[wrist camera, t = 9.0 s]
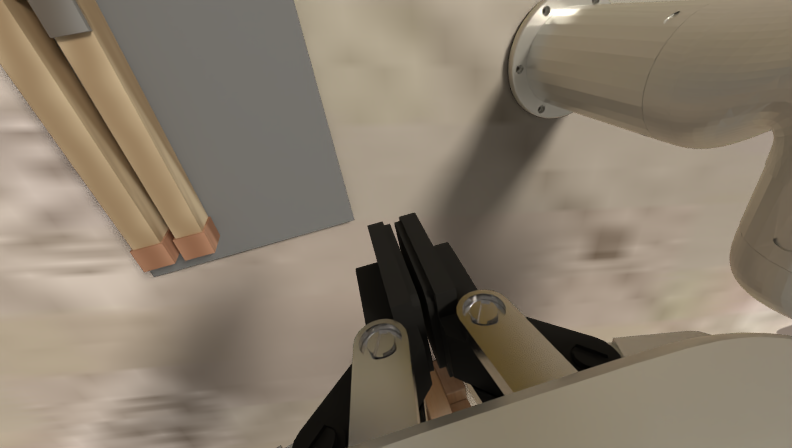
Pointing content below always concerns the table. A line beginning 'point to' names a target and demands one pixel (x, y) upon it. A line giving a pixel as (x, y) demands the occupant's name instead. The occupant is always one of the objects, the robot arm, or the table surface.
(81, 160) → the tongs fixed
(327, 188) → the mat
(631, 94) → the robot arm
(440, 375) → the wooden toy
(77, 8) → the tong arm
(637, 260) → the table surface
